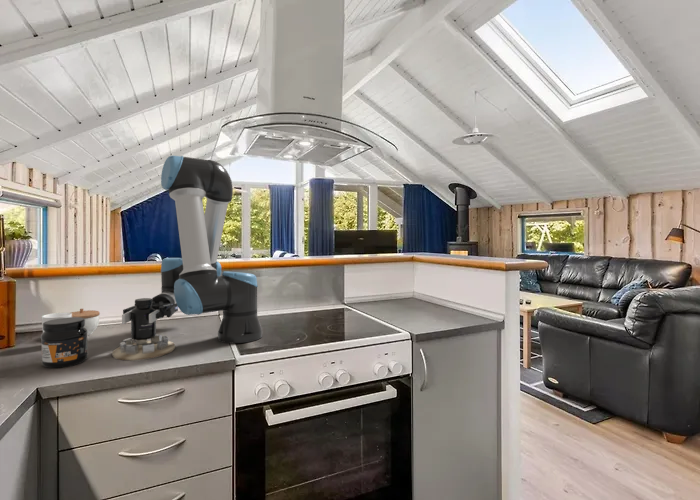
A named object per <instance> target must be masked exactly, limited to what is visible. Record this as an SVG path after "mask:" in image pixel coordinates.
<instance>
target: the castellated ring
mask: <svg viewBox="0 0 700 500" xmlns="http://www.w3.org/2000/svg"><path fill="white" fill-rule="evenodd" d="M168 337H169V336H167V335H162V334H156V336H155V337H153V338H151V339H150V341H151V344H146V343H147V341H148V339H146V340H135V343H136V345H133V343H134V342H133V341H134V340H133V339H132V338H131V337H128V338H126V339H122V340H121V341H122V342H119V347H120V351H121V353H126V354H128V355H136V354H138V345H140V344H145V345H142V353H143V354H147V353H153V352H154V343H157V350H163V349H165V348H167V346H168V341H169V338H168Z"/></svg>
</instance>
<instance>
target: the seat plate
mask: <svg viewBox="0 0 700 500" xmlns="http://www.w3.org/2000/svg"><path fill="white" fill-rule="evenodd" d="M146 344H151V340H147V343H146ZM133 345H136V342H133ZM142 345H145V344H140V345H138V354H136V355H128V354H126V353H121V351H120V346H118V347H117V348H115V349H114V350H112V358H113V359H115V360H118V361H142V360H149V359H153V358H159V357H162V356H165V355H168V354H170V353H172V352H174V350H175V349H176V345H175V342H173V341H170V340H168V346H167V348H165V349H163V350H157V343H154V352H153V353H147V354H143V353H142Z"/></svg>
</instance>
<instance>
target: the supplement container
mask: <svg viewBox="0 0 700 500" xmlns="http://www.w3.org/2000/svg"><path fill="white" fill-rule="evenodd" d="M84 326H85V319H84V318H81V317H68V318H59V319H53V320H49V321H46V322H44V323H43V330H44V332H43V330H42V333H41V335H40V339H41V341H40V342H41V365H42V366H43V367H45V368H49V369H58V368H59V369H61V368H66V367H72V366H75V365H78V364H82V363H83V362H84V361H86V360H87V358H88V357H89V353H88V335H87V332H88V331H87V329H86V328H85V327H84Z"/></svg>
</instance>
